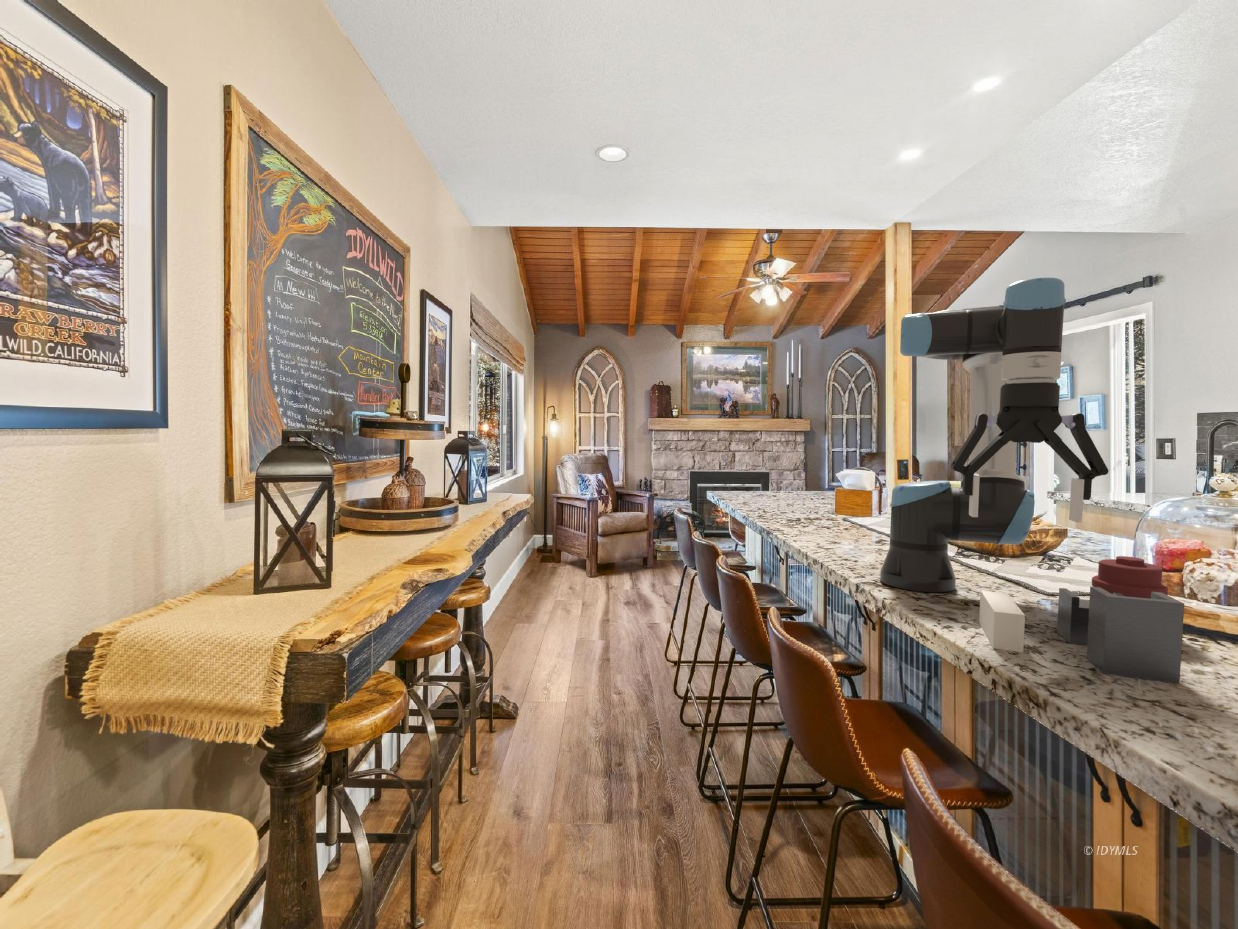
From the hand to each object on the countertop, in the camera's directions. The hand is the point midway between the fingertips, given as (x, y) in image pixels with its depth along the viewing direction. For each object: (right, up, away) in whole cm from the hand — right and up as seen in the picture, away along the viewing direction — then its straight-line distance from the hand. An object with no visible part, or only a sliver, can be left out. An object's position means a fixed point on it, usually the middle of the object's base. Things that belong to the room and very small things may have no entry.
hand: (1022, 518), depth 91 cm
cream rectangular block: (0, -20, +6) cm, 21 cm away
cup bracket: (+10, -21, -8) cm, 24 cm away
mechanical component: (+26, -20, +11) cm, 35 cm away
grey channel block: (+14, -20, +4) cm, 25 cm away
